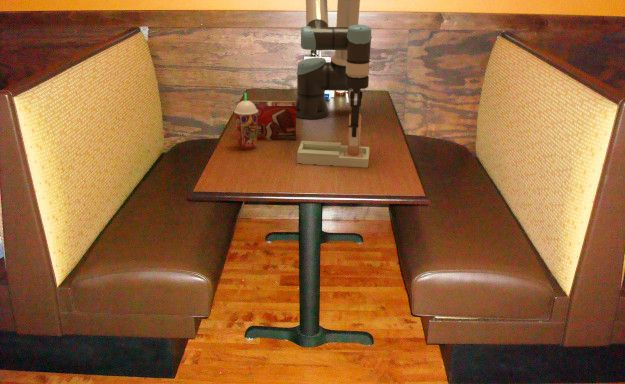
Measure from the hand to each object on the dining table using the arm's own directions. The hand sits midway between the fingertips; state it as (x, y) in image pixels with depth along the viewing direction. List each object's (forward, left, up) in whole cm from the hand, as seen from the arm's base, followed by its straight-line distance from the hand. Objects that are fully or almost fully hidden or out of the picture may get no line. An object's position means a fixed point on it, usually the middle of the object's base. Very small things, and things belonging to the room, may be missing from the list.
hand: (353, 142), depth 199 cm
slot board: (0, -7, -6) cm, 9 cm away
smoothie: (-7, -39, -7) cm, 40 cm away
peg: (0, 0, -5) cm, 5 cm away
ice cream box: (-19, -33, -7) cm, 38 cm away
